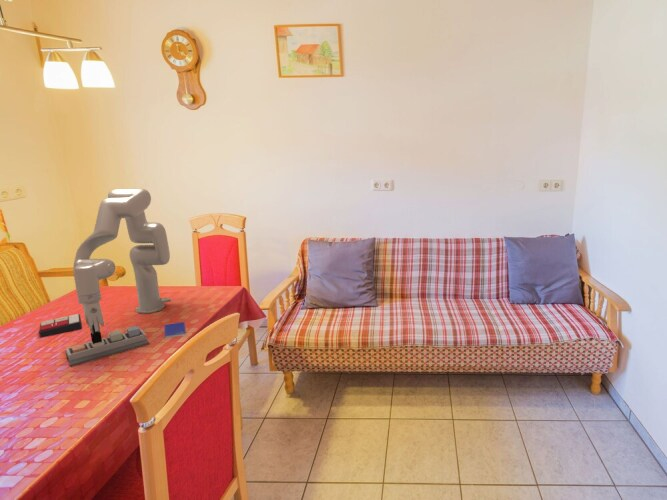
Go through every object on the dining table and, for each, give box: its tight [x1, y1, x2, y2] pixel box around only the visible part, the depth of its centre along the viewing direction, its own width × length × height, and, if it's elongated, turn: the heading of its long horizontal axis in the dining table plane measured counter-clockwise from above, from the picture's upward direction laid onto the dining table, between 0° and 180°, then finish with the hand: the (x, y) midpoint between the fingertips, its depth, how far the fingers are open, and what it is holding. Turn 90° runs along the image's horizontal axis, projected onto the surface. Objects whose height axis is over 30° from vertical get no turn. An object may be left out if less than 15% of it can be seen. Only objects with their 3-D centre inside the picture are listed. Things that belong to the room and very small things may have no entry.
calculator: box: [38, 313, 83, 338], centre depth 186 cm, size 11×4×15 cm
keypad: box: [64, 328, 150, 367], centre depth 167 cm, size 27×14×3 cm, turn 128°
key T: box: [125, 324, 141, 337], centre depth 172 cm, size 4×4×2 cm
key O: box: [90, 338, 105, 348], centre depth 165 cm, size 4×4×2 cm
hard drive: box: [164, 321, 187, 340], centre depth 182 cm, size 2×8×12 cm
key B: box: [70, 343, 86, 353], centre depth 161 cm, size 4×4×2 cm
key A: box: [108, 329, 123, 342], centre depth 168 cm, size 4×4×2 cm
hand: (97, 342), depth 164 cm, fingers closed
